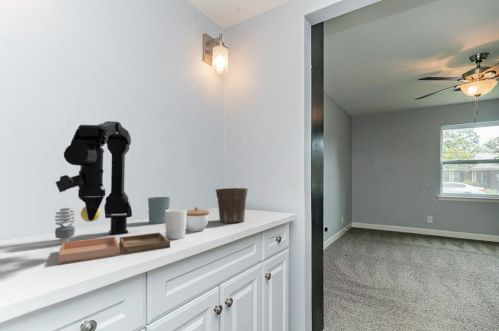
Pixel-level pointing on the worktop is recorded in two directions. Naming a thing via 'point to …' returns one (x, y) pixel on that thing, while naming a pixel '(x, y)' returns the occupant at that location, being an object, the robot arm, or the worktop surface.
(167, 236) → the white cup
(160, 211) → the teal cup
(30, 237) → the worktop surface
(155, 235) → the tray
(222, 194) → the plant pot
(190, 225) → the lidded jar
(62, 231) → the light bulb
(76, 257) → the dish
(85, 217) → the ball
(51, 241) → the worktop surface
